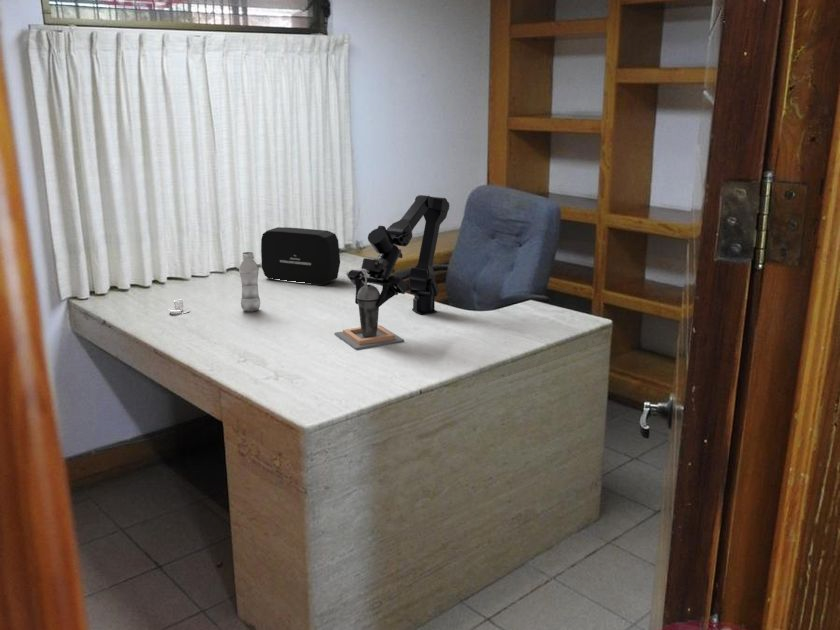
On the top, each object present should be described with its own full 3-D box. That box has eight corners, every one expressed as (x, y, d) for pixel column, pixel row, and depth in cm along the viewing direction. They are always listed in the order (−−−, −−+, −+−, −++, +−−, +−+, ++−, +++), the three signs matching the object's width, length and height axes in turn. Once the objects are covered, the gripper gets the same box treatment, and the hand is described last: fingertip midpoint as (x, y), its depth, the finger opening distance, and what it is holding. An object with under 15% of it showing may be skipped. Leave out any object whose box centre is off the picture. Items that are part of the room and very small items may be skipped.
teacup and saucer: (175, 317, 258) (174, 305, 256) (160, 313, 262) (159, 301, 261) (196, 311, 265) (195, 299, 263) (181, 307, 269) (180, 296, 268)
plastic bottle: (237, 312, 263) (233, 254, 257) (248, 307, 269) (245, 250, 263) (253, 314, 260) (250, 256, 254) (264, 309, 266) (261, 252, 260)
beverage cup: (386, 334, 237) (385, 271, 231) (366, 339, 232) (365, 275, 226) (372, 329, 242) (371, 266, 236) (352, 333, 238) (351, 270, 232)
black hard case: (261, 279, 305) (259, 229, 299) (277, 272, 316) (275, 224, 310) (330, 287, 295) (329, 235, 289) (344, 280, 306) (343, 229, 300)
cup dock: (380, 327, 248) (380, 321, 247) (404, 341, 235) (404, 336, 234) (334, 334, 240) (334, 329, 240) (355, 349, 227) (355, 344, 227)
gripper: (350, 244, 237) (329, 287, 232) (401, 251, 228) (381, 296, 222) (365, 263, 246) (345, 305, 240) (415, 271, 237) (396, 315, 231)
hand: (366, 305), depth 233 cm, fingers closed on beverage cup, 7 cm apart
